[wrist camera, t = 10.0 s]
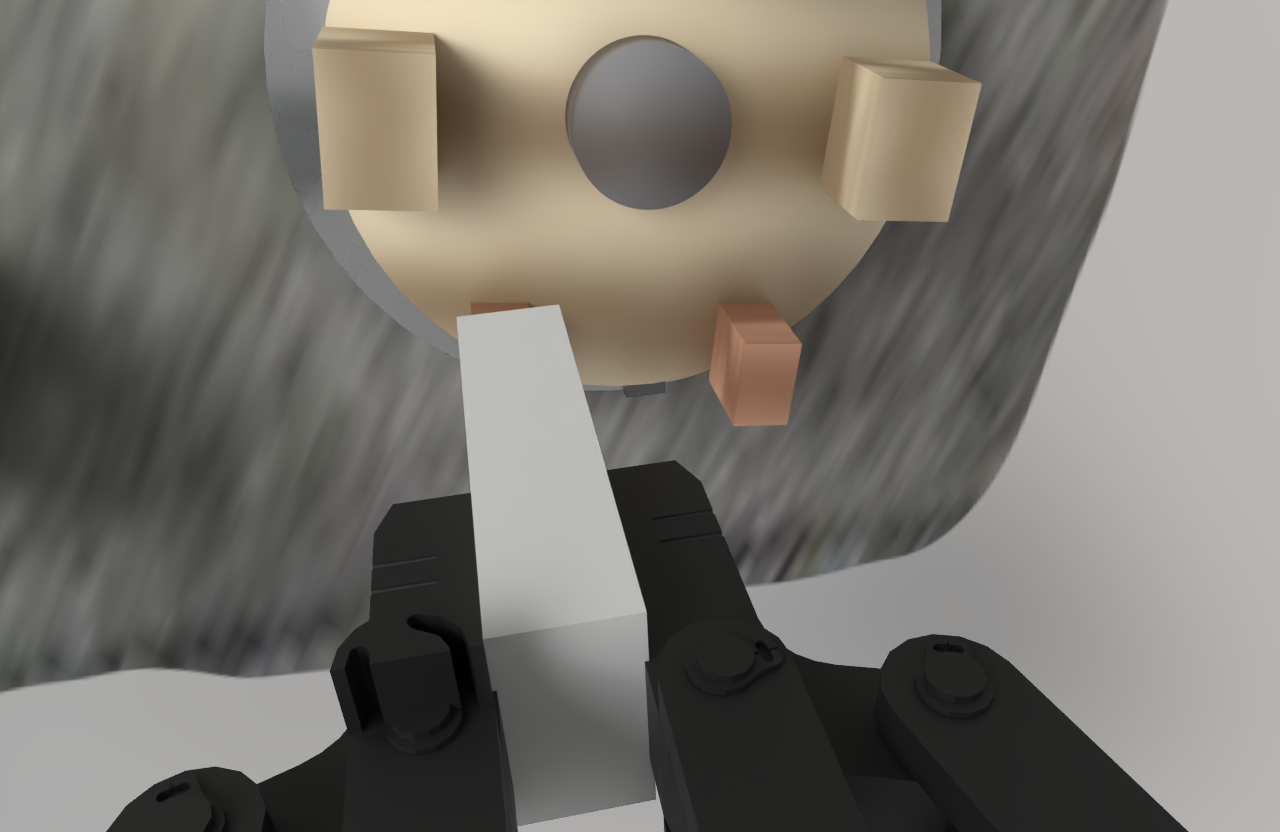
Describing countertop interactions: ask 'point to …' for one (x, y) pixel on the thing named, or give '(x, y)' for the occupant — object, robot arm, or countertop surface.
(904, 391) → the countertop surface
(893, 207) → the ring nut
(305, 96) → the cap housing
